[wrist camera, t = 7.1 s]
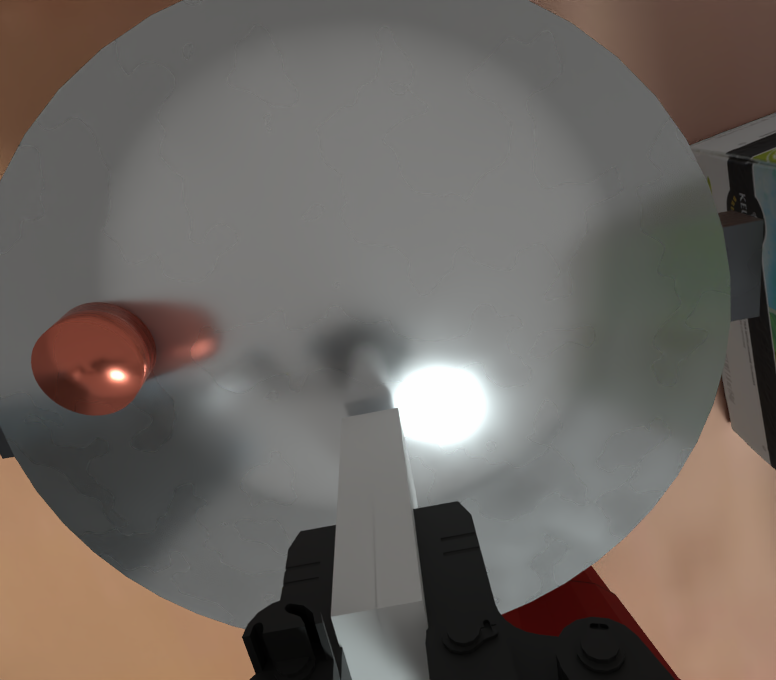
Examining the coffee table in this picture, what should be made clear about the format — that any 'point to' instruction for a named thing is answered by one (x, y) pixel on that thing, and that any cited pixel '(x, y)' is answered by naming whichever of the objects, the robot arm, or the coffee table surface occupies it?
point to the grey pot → (743, 266)
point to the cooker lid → (354, 287)
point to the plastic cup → (577, 610)
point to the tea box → (772, 327)
